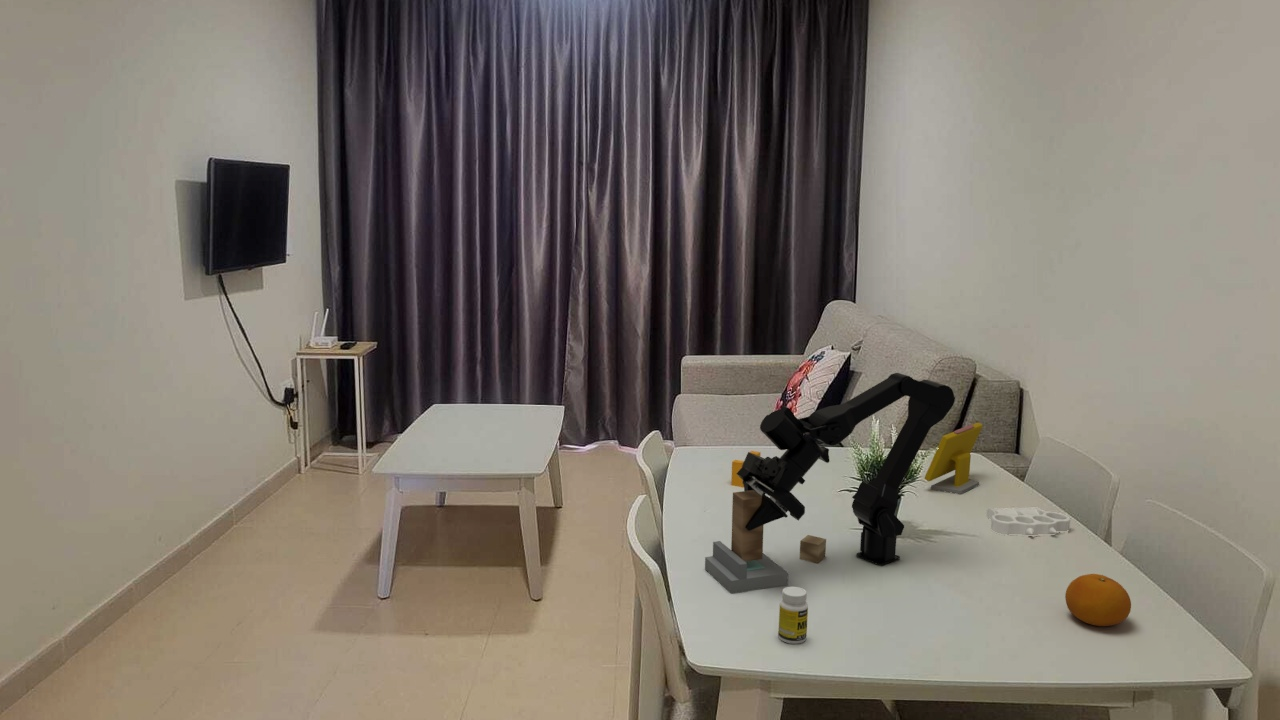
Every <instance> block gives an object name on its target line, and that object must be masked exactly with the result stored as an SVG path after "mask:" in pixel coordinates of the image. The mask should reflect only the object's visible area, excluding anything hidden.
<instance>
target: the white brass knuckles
mask: <svg viewBox="0 0 1280 720" xmlns="http://www.w3.org/2000/svg"><path fill="white" fill-rule="evenodd" d="M985 513H986V517H987V519H988V518H990V519H991V520H990V521H991V523H990V530H991V529H992V530H993V531H995V532H997V533H1001V534H1007V535H1009V534H1022V535H1038V534H1055V535H1057V534H1056V533H1057V532H1056V531H1067V530H1069V531H1070V527H1071V518H1070V517H1069V516H1068V515H1066V514H1064V513H1060V512H1055V511H1047V510H1043V509H1042V508H1040V507H1037V506H1031V507H1014V506H1013V507H1007V508H1005V507H1003V508H1000V507H999V508H996V507H990V508H987V510H986V512H985ZM992 530H991V531H992ZM993 531H992V532H993ZM995 532H994V533H995ZM997 533H996V534H997Z"/></svg>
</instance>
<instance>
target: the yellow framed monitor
mask: <svg viewBox="0 0 1280 720" xmlns="http://www.w3.org/2000/svg"><path fill="white" fill-rule="evenodd" d="M983 427H984V426H983V424H982V423H980V422H976V423H973V424H969V425H966V426H965V427H961V428H959V429H955V430H954V431H952V432H949V433H947V434H944V435H942V436H941V439H940V441H939V444H938V446H937V448H939V449H938V450H937V449H936V450H937V451H935V453H934V455H933V457H932V460H931V462H930V464H929V467H928V469H927V471H926V472H925V473H926V474H925V475H924V480H926V481H927V482H932V481H933V480H936V479H938V478H941V477H942V476H945V475H947V474H949V473H952V472H954V471H955V472H954V475H951V476H949V477H946V478H944V479H943V480H940V481H938V482H936V483H934V484H932V485H931V487H930V489H931V490H933V489H935V490H934V491H938V490H940V491H939V492H944V491H946V492H945V493H950V492H952V493H951V494H955V493H958V494H957V495H962V494H964V493H966V492H968V491H970V489H971V490H973V489H974V487H975V488H977V487H978V485H979V486H980V481H979V480H975V479H974V478H973V479H972V478H970V470H971V456H972V455H971V454H972V453H971V452H972V450H973V448H974V446H975V444H976V443H977V442H976V441H977V440H978V437H979V435H980V433H981V431H982V429H983ZM976 486H977V487H976ZM972 488H973V489H972Z"/></svg>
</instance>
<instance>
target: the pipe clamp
mask: <svg viewBox="0 0 1280 720" xmlns="http://www.w3.org/2000/svg"><path fill="white" fill-rule="evenodd" d="M749 452H750V453H753V454H755V455H757V456H760V457H761V451H755V450H751V451H749ZM743 463H744V460H739V459H735V460H733V461H731V483H730V484H731V485H730V486H735V487H740V488H744V485H743V483H742V481H743V480H742V479H741V478H740V477H739V476H738V475H737V473H738V471H739V470H740V469H741V468H742V465H743Z"/></svg>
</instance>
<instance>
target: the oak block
mask: <svg viewBox="0 0 1280 720" xmlns="http://www.w3.org/2000/svg"><path fill="white" fill-rule="evenodd" d="M799 543H800V544H799V560H803V561H807V562H811V563H816V564H819V563H820V562H822V560H823V559H825V558H826V551H827V538H823V537H819V536H814V535H809V534H807V535H806V536H805V537H803V538H802V539H801V540H800V542H799Z"/></svg>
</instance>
